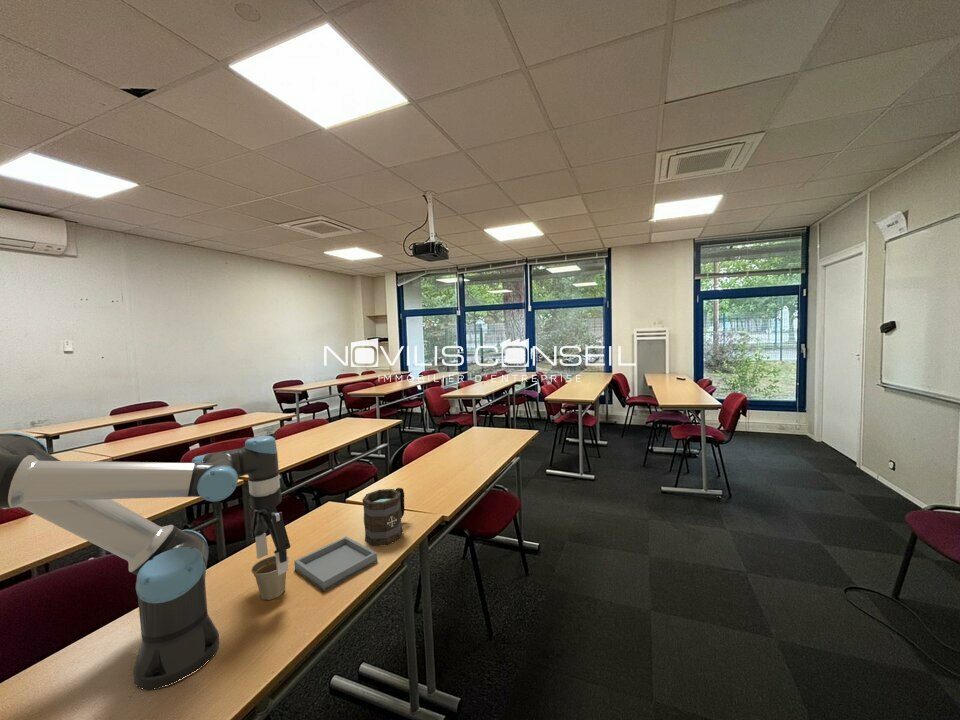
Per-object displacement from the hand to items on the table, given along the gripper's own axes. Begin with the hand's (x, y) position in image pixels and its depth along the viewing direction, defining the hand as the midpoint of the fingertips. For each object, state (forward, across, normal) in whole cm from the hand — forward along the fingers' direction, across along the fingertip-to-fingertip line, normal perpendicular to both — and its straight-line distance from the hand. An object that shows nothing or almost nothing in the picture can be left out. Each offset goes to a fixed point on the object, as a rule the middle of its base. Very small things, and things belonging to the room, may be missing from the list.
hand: (272, 564), depth 108 cm
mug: (+9, +1, -41) cm, 42 cm away
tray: (+9, -3, -18) cm, 20 cm away
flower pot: (+9, 0, 0) cm, 9 cm away
